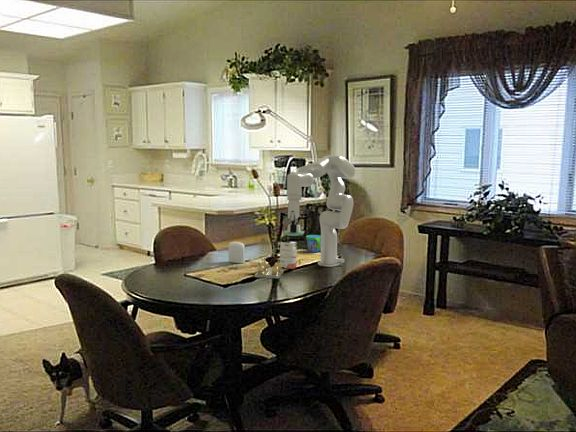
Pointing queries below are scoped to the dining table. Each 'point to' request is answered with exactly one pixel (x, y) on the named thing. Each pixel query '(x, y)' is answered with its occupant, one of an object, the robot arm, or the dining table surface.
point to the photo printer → (236, 252)
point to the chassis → (269, 270)
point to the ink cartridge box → (288, 255)
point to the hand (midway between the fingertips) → (294, 230)
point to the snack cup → (313, 243)
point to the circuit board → (298, 232)
